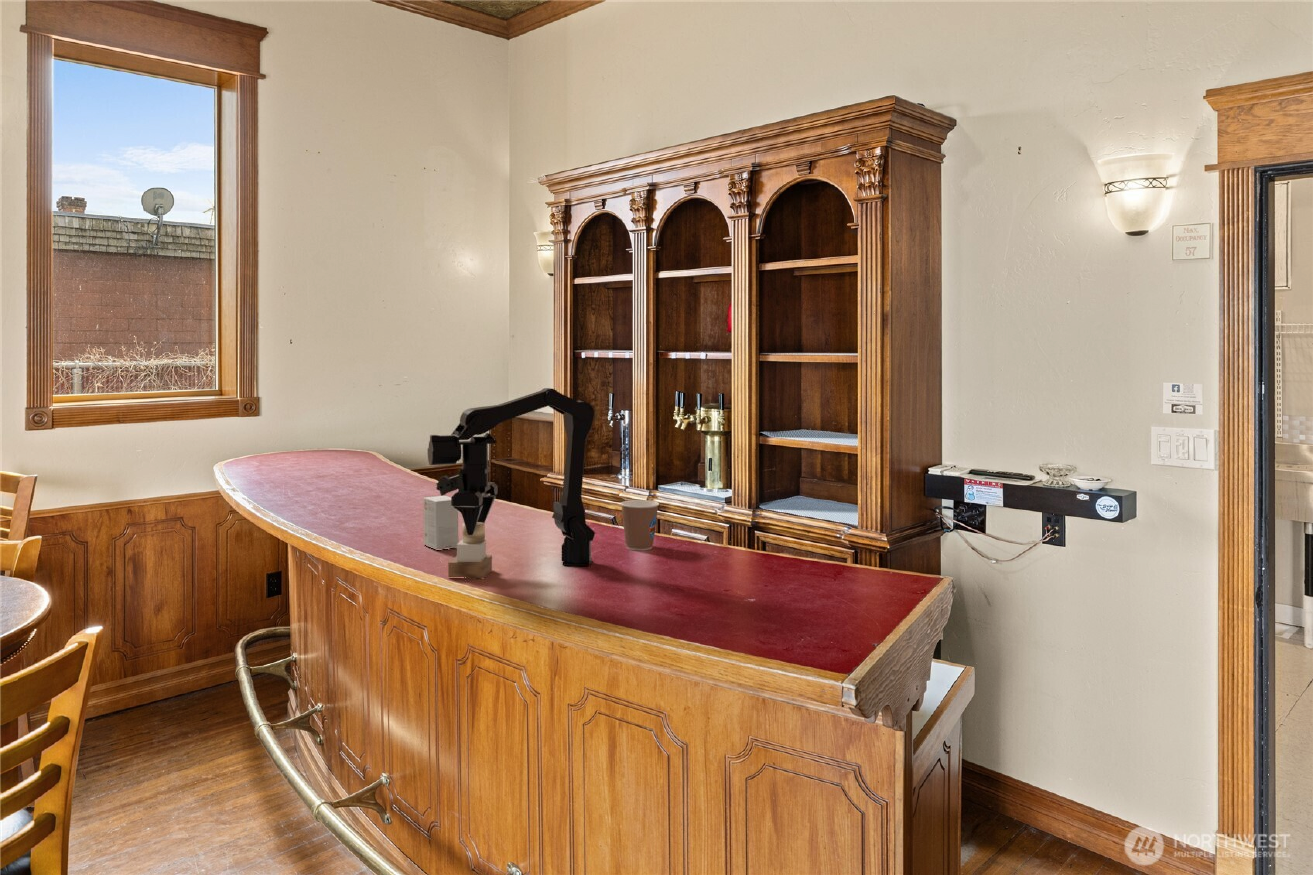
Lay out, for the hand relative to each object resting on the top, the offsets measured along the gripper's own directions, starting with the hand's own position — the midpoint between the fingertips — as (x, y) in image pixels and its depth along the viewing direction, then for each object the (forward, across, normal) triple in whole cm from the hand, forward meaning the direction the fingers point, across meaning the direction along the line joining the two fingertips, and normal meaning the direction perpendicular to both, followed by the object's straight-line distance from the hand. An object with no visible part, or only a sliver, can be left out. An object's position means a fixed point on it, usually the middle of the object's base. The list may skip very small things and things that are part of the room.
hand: (475, 530), depth 192 cm
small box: (+10, -26, -16) cm, 32 cm away
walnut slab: (+10, +1, -1) cm, 10 cm away
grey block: (+6, +1, -1) cm, 7 cm away
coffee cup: (+10, -31, +36) cm, 49 cm away
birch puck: (+2, +1, 0) cm, 2 cm away
